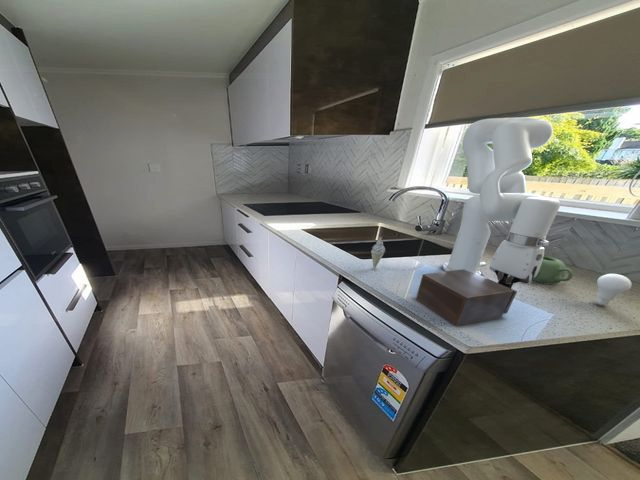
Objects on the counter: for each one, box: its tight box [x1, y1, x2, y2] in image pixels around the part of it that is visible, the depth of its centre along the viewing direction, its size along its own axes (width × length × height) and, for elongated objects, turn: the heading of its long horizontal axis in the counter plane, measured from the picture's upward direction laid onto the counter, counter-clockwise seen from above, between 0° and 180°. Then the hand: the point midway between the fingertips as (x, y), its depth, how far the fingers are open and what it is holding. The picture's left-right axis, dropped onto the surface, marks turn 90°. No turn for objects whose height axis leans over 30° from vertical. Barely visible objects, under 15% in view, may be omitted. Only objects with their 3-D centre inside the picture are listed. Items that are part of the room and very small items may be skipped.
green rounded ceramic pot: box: [531, 255, 574, 285], centre depth 93 cm, size 16×13×9 cm
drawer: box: [471, 272, 518, 315], centre depth 77 cm, size 20×13×8 cm
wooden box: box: [415, 269, 514, 327], centre depth 76 cm, size 17×15×10 cm
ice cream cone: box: [370, 236, 386, 271], centre depth 102 cm, size 5×5×15 cm
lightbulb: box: [594, 273, 632, 306], centre depth 77 cm, size 6×6×11 cm
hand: (501, 292), depth 80 cm, fingers closed
